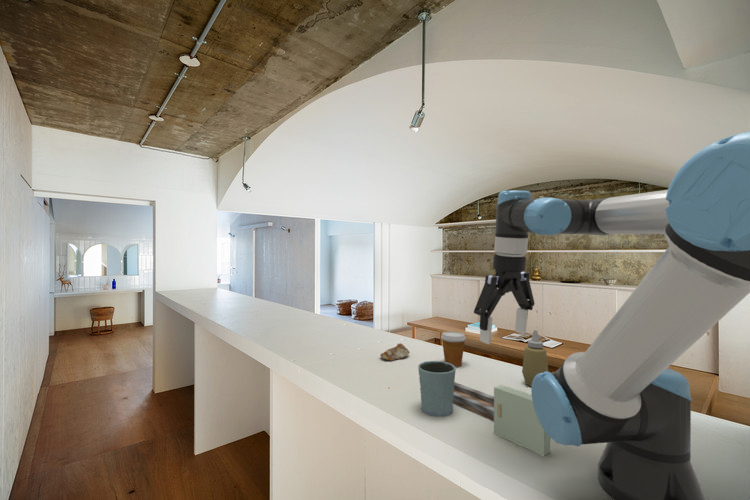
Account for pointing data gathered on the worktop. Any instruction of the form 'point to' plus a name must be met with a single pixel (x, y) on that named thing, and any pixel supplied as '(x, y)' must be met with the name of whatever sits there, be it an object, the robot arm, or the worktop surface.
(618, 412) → the robot arm
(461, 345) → the disposable coffee cup
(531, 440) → the door panel
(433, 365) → the teal cup
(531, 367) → the squeeze bottle
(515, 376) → the worktop surface
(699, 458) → the worktop surface
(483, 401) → the track base
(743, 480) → the worktop surface
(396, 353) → the decorative stone
